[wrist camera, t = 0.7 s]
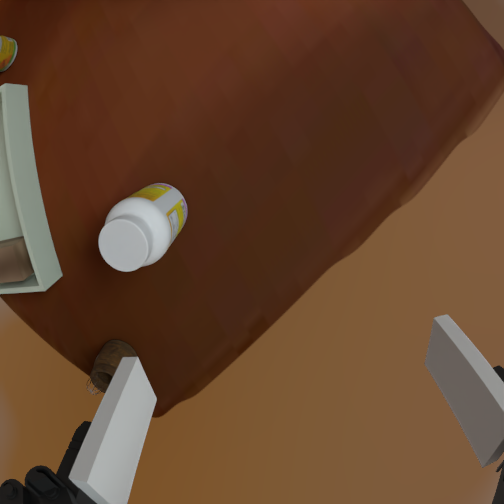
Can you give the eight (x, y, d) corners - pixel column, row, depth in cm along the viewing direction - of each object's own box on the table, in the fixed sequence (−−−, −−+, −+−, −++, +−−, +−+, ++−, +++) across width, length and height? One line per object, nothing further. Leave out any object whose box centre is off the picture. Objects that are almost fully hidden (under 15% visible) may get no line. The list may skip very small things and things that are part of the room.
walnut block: (-4, 241, 38) (-24, 253, 33) (32, 233, 37) (12, 245, 33) (5, 271, 39) (-13, 284, 35) (42, 266, 39) (23, 280, 34)
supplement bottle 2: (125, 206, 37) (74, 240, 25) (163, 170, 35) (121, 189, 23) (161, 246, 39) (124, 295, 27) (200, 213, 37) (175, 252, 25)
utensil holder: (131, 337, 44) (103, 392, 32) (144, 369, 46) (122, 425, 35) (98, 338, 44) (66, 389, 33) (112, 369, 46) (86, 421, 35)
